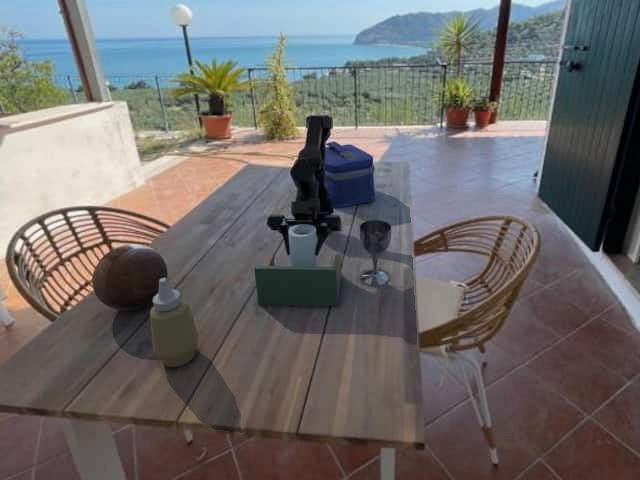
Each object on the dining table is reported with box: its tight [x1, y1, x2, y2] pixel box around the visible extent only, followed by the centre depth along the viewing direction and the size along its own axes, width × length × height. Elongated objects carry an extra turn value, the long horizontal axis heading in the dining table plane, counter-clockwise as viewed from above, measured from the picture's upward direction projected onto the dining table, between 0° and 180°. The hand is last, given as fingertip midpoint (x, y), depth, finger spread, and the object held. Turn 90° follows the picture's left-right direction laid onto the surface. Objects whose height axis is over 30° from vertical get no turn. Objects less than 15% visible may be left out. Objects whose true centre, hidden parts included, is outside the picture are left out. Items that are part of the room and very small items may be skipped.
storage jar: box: [288, 224, 318, 267], centre depth 99 cm, size 7×7×13 cm
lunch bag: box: [325, 140, 376, 208], centre depth 157 cm, size 31×21×20 cm
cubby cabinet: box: [254, 252, 343, 307], centre depth 96 cm, size 13×19×10 cm
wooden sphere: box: [91, 243, 168, 311], centre depth 90 cm, size 15×15×15 cm
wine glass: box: [359, 219, 392, 287], centre depth 100 cm, size 8×8×15 cm
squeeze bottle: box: [149, 278, 200, 368], centre depth 74 cm, size 8×8×18 cm
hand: (302, 255), depth 98 cm, fingers closed on storage jar, 7 cm apart
